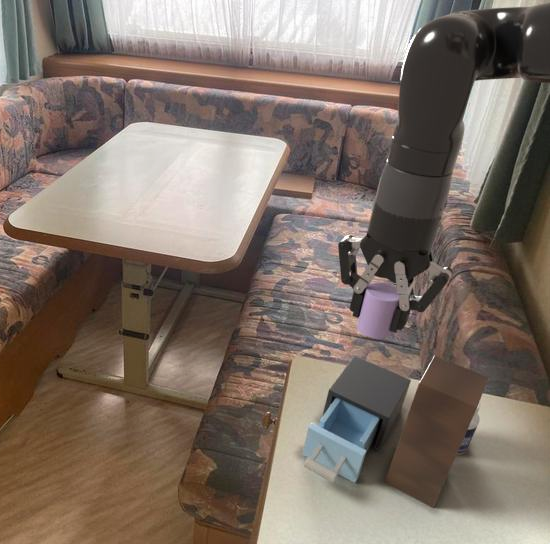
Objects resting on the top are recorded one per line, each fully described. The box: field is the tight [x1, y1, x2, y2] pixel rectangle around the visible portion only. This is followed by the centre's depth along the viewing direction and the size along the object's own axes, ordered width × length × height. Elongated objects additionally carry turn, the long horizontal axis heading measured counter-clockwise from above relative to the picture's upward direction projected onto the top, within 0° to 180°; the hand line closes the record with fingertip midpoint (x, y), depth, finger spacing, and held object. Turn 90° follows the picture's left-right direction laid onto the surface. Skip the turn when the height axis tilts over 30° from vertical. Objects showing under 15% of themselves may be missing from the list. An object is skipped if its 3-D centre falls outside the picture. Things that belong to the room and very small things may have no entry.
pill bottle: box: [456, 401, 481, 456], centre depth 88 cm, size 5×5×10 cm
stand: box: [384, 355, 489, 509], centre depth 79 cm, size 7×7×20 cm
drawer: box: [301, 397, 382, 484], centre depth 85 cm, size 14×8×6 cm, turn 145°
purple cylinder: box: [356, 281, 399, 340], centre depth 74 cm, size 4×4×6 cm
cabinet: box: [321, 355, 412, 450], centre depth 93 cm, size 11×10×8 cm
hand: (376, 321), depth 75 cm, fingers closed on purple cylinder, 4 cm apart
